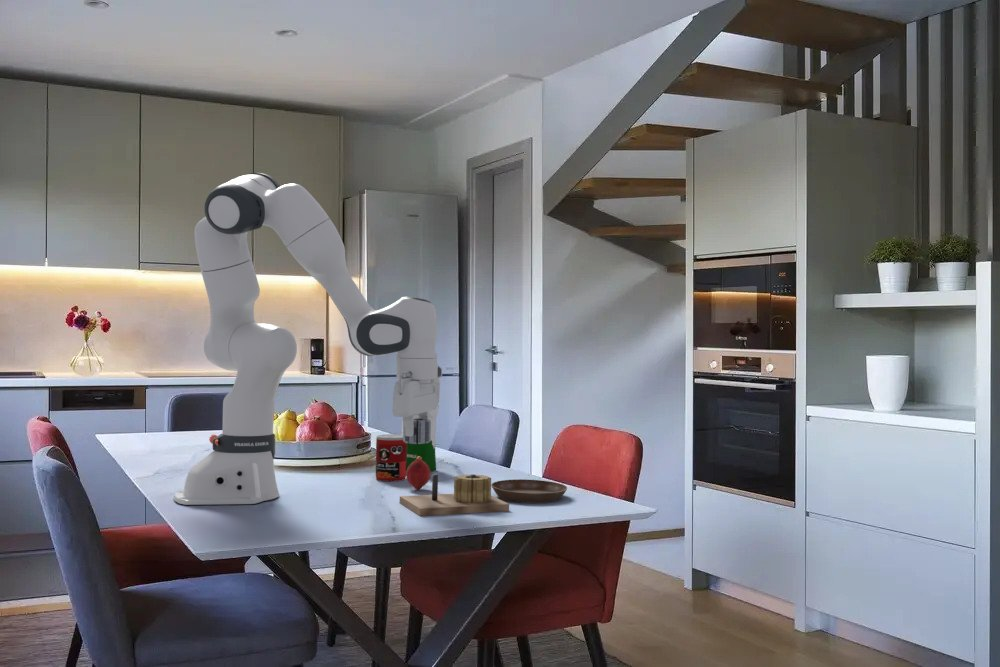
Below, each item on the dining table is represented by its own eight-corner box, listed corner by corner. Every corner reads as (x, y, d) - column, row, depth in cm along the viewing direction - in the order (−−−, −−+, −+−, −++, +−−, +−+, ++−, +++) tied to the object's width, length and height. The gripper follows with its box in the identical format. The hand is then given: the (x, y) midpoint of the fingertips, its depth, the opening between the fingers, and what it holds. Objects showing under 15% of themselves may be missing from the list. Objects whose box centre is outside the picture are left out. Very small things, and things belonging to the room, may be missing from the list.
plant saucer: (582, 499, 224) (583, 486, 224) (529, 508, 212) (530, 494, 212) (528, 489, 237) (528, 476, 237) (475, 497, 225) (475, 483, 225)
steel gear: (424, 444, 208) (425, 421, 208) (398, 443, 210) (398, 420, 209) (434, 441, 214) (435, 418, 214) (409, 439, 215) (409, 417, 215)
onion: (426, 492, 228) (427, 458, 228) (402, 491, 229) (403, 457, 229) (432, 488, 233) (433, 455, 233) (410, 487, 235) (410, 454, 234)
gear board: (419, 515, 199) (420, 482, 199) (399, 502, 213) (400, 471, 213) (509, 511, 207) (509, 478, 207) (484, 498, 221) (484, 468, 221)
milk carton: (395, 470, 260) (396, 396, 260) (415, 467, 268) (417, 395, 267) (421, 474, 255) (422, 398, 255) (441, 470, 263) (443, 396, 263)
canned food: (369, 480, 244) (370, 436, 244) (385, 475, 251) (386, 433, 251) (396, 482, 241) (397, 438, 241) (411, 478, 248) (412, 435, 248)
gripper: (413, 373, 201) (413, 440, 201) (444, 369, 220) (444, 429, 221) (385, 373, 202) (384, 439, 202) (418, 368, 222) (418, 428, 222)
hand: (416, 434), depth 212 cm, fingers closed on steel gear, 6 cm apart
